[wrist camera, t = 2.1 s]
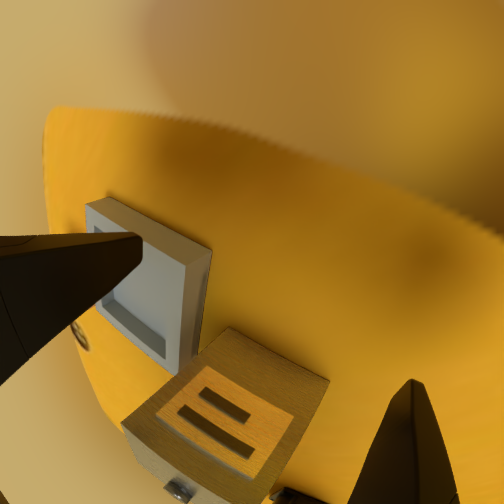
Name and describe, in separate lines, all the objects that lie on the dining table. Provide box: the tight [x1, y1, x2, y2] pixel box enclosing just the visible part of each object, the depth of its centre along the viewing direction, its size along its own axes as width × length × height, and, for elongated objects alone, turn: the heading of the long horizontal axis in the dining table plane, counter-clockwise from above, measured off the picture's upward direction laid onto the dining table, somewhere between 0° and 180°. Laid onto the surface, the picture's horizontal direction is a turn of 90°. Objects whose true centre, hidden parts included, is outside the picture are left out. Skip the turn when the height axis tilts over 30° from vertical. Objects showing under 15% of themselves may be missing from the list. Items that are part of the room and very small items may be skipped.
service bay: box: [85, 197, 212, 376], centre depth 19 cm, size 10×10×2 cm
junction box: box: [121, 327, 330, 504], centre depth 14 cm, size 8×7×10 cm
